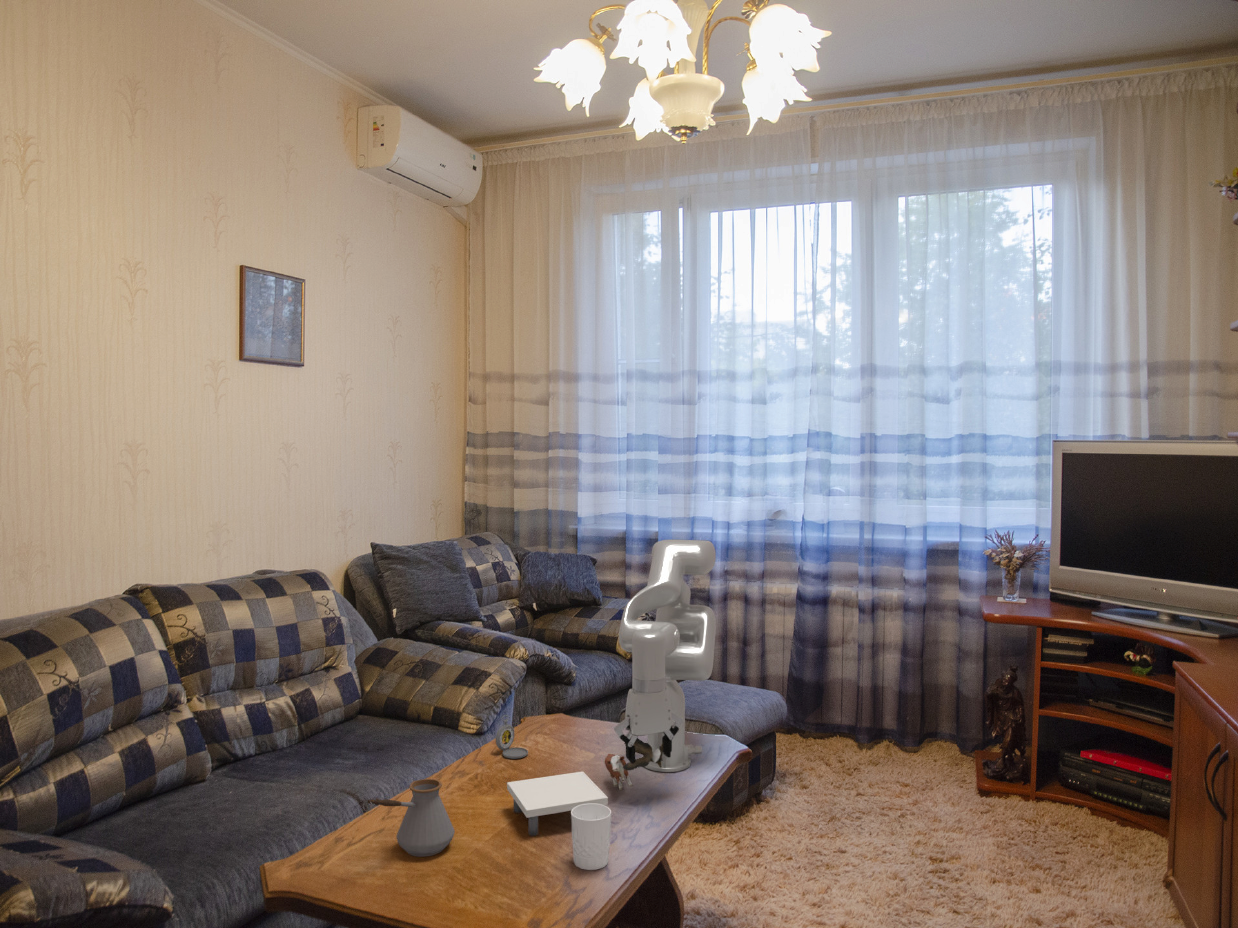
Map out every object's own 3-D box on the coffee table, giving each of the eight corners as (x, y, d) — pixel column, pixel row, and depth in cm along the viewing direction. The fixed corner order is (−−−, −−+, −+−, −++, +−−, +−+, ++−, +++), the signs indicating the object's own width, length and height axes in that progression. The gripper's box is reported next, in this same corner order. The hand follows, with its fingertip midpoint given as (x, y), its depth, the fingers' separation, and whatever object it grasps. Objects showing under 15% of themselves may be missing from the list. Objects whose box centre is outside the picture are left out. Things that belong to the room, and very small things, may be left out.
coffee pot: (425, 830, 181) (425, 759, 181) (466, 843, 175) (466, 770, 175) (344, 872, 163) (344, 794, 163) (387, 888, 157) (387, 807, 157)
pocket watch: (526, 760, 222) (526, 721, 222) (494, 759, 222) (494, 721, 222) (530, 749, 230) (530, 712, 230) (498, 748, 230) (498, 711, 230)
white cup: (616, 856, 170) (616, 806, 170) (602, 874, 163) (603, 822, 162) (579, 849, 173) (579, 800, 172) (564, 867, 165) (564, 816, 165)
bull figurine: (619, 795, 195) (607, 760, 196) (610, 784, 208) (599, 751, 209) (636, 788, 196) (625, 753, 197) (627, 777, 209) (616, 744, 210)
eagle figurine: (660, 752, 202) (623, 746, 202) (666, 734, 197) (627, 728, 197) (659, 781, 196) (620, 775, 195) (665, 763, 191) (625, 757, 191)
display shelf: (582, 796, 199) (582, 771, 199) (607, 825, 184) (607, 797, 184) (507, 808, 192) (507, 782, 192) (526, 839, 177) (526, 810, 177)
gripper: (675, 674, 203) (675, 746, 204) (607, 683, 196) (607, 758, 197) (690, 683, 196) (690, 758, 197) (619, 693, 189) (620, 770, 190)
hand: (649, 757), depth 197 cm, fingers closed on eagle figurine, 8 cm apart
